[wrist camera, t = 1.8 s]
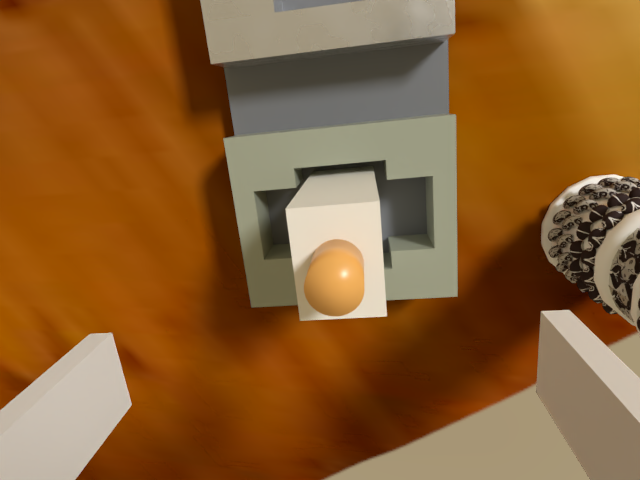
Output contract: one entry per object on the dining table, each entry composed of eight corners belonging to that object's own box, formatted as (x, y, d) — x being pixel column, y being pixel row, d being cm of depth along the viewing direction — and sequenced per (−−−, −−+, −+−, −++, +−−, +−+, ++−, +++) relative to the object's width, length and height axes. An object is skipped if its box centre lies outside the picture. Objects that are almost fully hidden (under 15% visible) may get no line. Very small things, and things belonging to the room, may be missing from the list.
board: (198, -136, 28) (189, -149, 26) (440, -181, 26) (444, -197, 25) (263, 284, 37) (259, 291, 35) (447, 273, 35) (451, 280, 33)
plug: (312, 171, 32) (273, 225, 18) (372, 166, 31) (382, 217, 17) (320, 247, 34) (290, 352, 19) (378, 243, 33) (390, 348, 19)
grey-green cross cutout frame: (237, 135, 31) (223, 138, 28) (445, 113, 30) (455, 114, 26) (261, 288, 35) (251, 307, 32) (447, 277, 33) (457, 296, 30)
